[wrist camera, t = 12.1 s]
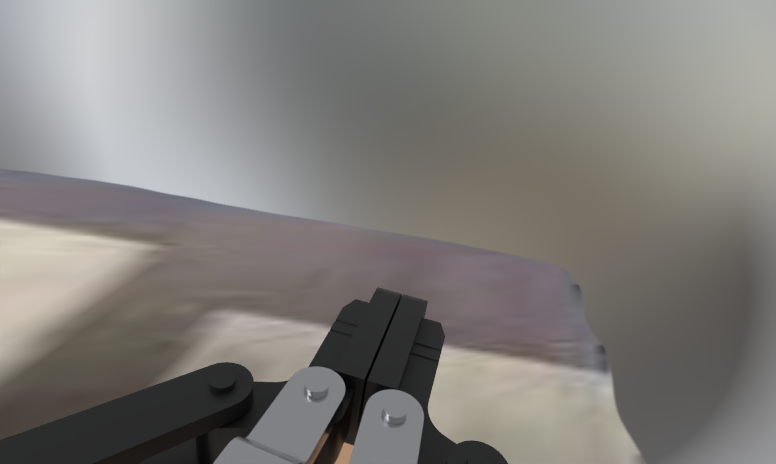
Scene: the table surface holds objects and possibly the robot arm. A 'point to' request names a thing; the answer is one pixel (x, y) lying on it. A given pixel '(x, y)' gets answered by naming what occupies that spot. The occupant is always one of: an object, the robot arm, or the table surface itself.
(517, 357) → the table surface
